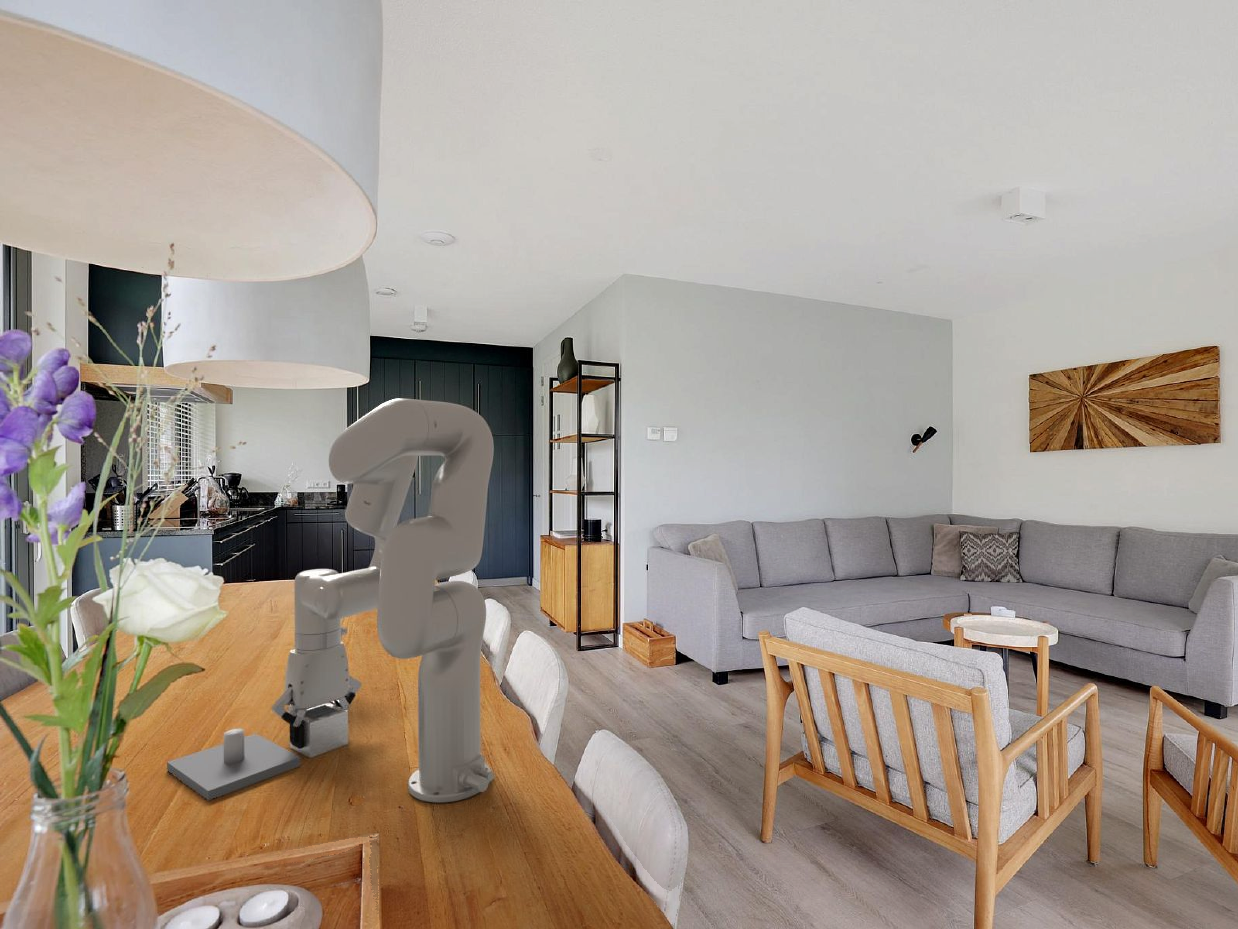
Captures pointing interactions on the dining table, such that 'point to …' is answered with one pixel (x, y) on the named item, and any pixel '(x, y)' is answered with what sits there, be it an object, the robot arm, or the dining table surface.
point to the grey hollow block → (323, 729)
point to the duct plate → (232, 764)
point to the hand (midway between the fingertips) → (319, 738)
